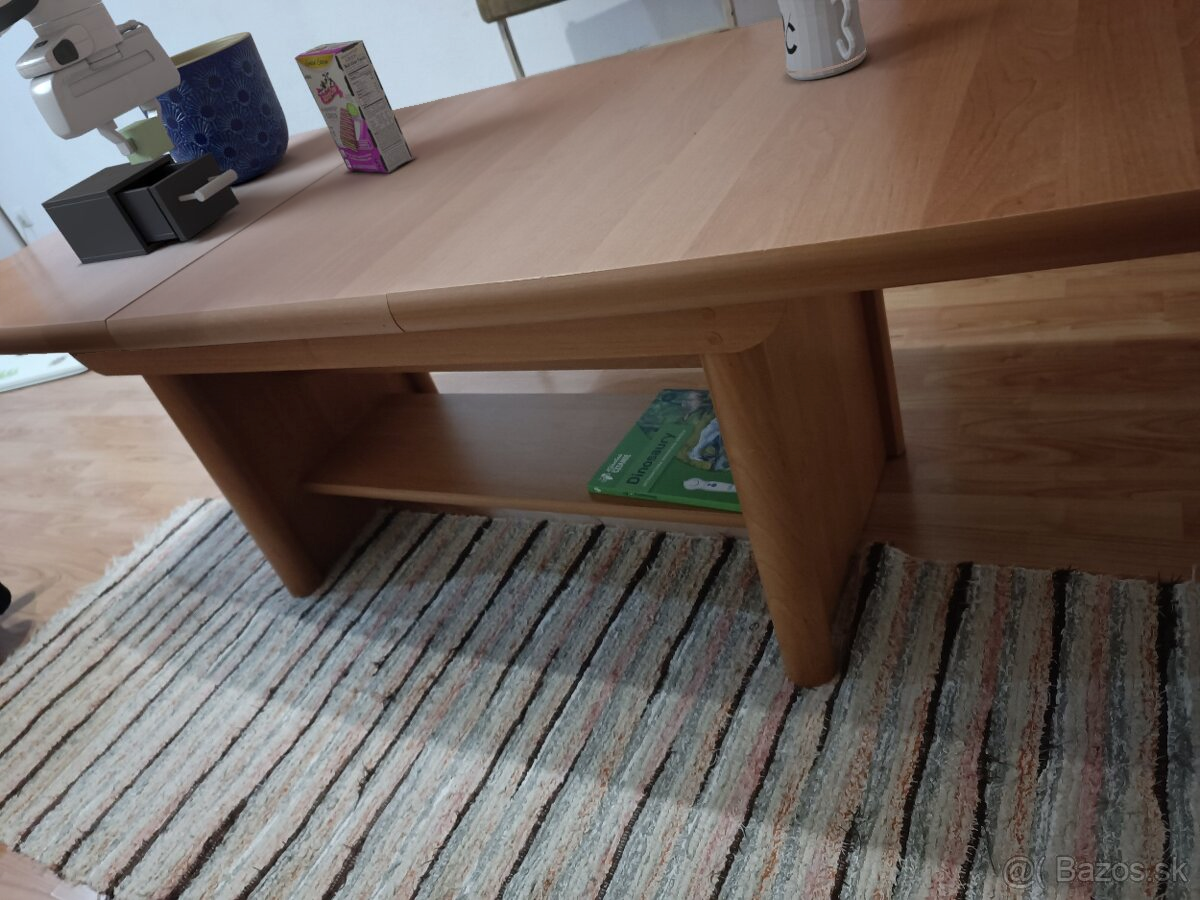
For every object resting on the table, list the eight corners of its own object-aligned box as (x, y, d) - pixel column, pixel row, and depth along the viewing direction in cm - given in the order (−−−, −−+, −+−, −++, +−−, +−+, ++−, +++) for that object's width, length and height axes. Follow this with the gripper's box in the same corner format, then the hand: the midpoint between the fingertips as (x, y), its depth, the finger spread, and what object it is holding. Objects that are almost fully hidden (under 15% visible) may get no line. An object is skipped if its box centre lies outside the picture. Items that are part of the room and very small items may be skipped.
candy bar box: (346, 173, 126) (291, 57, 117) (373, 158, 129) (321, 43, 119) (387, 175, 119) (332, 51, 110) (415, 159, 121) (363, 37, 112)
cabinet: (205, 214, 131) (170, 153, 126) (147, 254, 123) (106, 190, 117) (142, 225, 138) (105, 167, 132) (82, 263, 129) (40, 203, 124)
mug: (775, 74, 104) (760, -16, 98) (845, 48, 104) (834, -43, 99) (820, 94, 94) (806, -5, 88) (897, 64, 94) (889, -36, 89)
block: (153, 160, 116) (133, 128, 114) (131, 165, 118) (112, 133, 116) (175, 147, 119) (157, 115, 117) (154, 152, 121) (135, 121, 119)
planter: (302, 168, 137) (239, 43, 126) (179, 213, 137) (106, 92, 126) (312, 137, 154) (257, 24, 143) (202, 177, 154) (139, 67, 143)
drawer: (264, 199, 125) (235, 146, 120) (212, 236, 117) (179, 181, 112) (177, 214, 133) (147, 165, 128) (123, 250, 125) (89, 199, 120)
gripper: (125, 20, 119) (182, 120, 127) (3, 70, 105) (75, 179, 112) (156, 10, 116) (212, 112, 124) (34, 60, 102) (106, 172, 110)
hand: (146, 145), depth 118 cm, fingers closed on block, 4 cm apart
